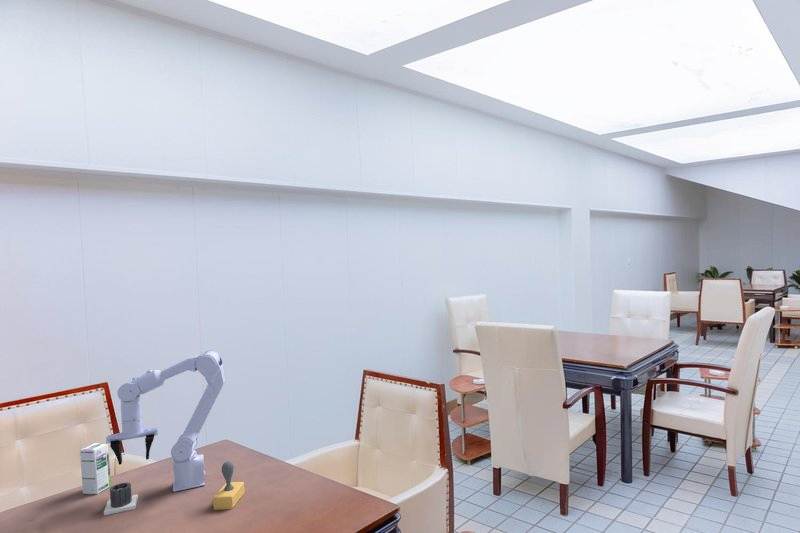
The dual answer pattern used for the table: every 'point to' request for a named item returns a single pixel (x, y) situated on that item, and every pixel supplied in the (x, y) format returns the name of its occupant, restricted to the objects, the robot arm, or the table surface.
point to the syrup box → (95, 468)
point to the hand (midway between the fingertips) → (134, 460)
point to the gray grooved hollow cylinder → (120, 495)
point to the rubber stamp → (228, 490)
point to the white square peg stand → (130, 506)
